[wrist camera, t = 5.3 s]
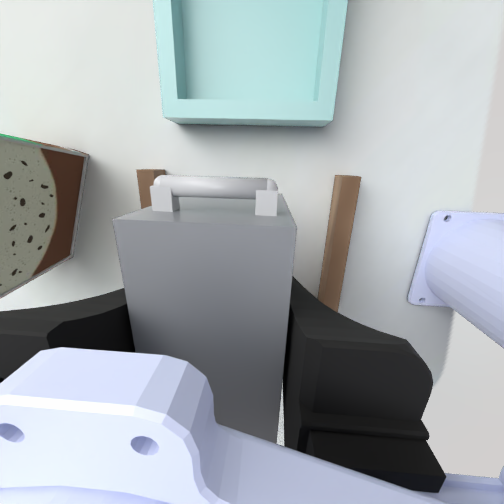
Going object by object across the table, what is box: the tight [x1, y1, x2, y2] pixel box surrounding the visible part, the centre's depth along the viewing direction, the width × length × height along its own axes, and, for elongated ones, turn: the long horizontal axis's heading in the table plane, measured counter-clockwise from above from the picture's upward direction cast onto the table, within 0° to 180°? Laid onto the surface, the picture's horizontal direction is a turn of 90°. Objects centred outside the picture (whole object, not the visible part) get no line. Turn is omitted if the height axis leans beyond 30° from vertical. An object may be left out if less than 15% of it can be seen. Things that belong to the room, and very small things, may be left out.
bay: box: [137, 169, 361, 312], centre depth 19 cm, size 15×11×2 cm
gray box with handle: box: [112, 175, 297, 444], centre depth 10 cm, size 4×10×7 cm, turn 179°
